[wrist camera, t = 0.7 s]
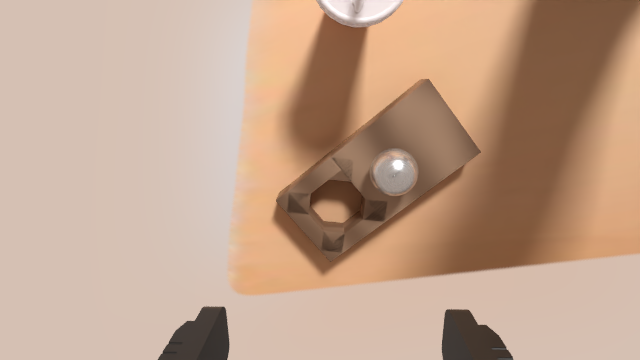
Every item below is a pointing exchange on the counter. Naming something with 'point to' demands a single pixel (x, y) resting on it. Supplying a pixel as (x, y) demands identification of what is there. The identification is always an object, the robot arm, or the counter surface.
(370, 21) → the smoothie
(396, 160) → the ball
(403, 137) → the brown ball holder
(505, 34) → the counter surface
